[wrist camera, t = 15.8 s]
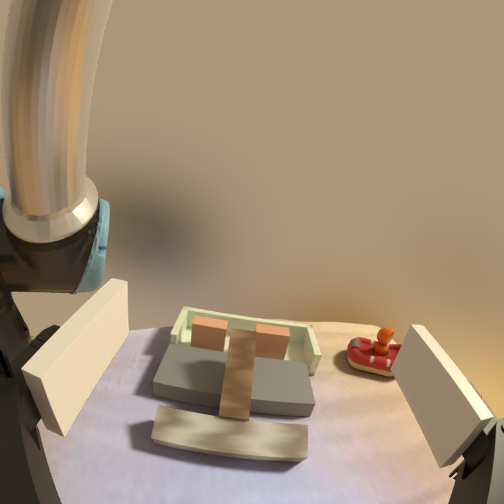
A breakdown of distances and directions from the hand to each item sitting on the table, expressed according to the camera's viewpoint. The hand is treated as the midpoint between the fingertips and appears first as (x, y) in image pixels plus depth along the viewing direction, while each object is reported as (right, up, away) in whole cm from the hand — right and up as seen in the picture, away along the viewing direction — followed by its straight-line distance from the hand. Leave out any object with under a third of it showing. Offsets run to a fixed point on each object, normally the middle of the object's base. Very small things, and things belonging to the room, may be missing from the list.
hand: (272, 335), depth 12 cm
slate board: (-3, -15, +25) cm, 29 cm away
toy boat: (+21, -16, +34) cm, 43 cm away
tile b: (+2, -11, +30) cm, 32 cm away
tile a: (-7, -9, +30) cm, 32 cm away
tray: (-2, -12, +34) cm, 36 cm away
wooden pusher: (-3, -17, +13) cm, 22 cm away
